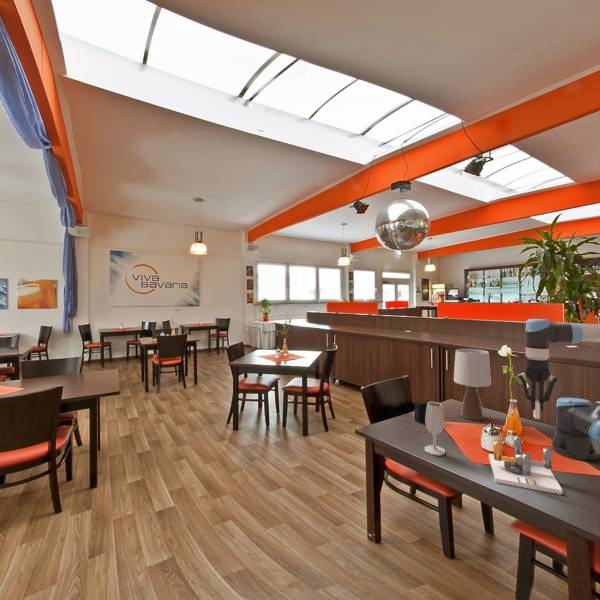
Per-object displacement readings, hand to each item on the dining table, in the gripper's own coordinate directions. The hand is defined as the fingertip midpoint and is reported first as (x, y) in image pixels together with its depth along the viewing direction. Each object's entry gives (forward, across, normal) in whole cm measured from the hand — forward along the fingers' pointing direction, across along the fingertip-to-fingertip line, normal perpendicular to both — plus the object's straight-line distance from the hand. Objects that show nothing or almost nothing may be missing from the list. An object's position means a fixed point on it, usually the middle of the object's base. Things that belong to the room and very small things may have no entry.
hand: (536, 417), depth 131 cm
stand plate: (+20, +6, +8) cm, 22 cm away
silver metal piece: (+18, +6, +8) cm, 21 cm away
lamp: (+20, +19, -50) cm, 57 cm away
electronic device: (+20, +43, -35) cm, 59 cm away
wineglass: (+20, +37, +1) cm, 42 cm away
